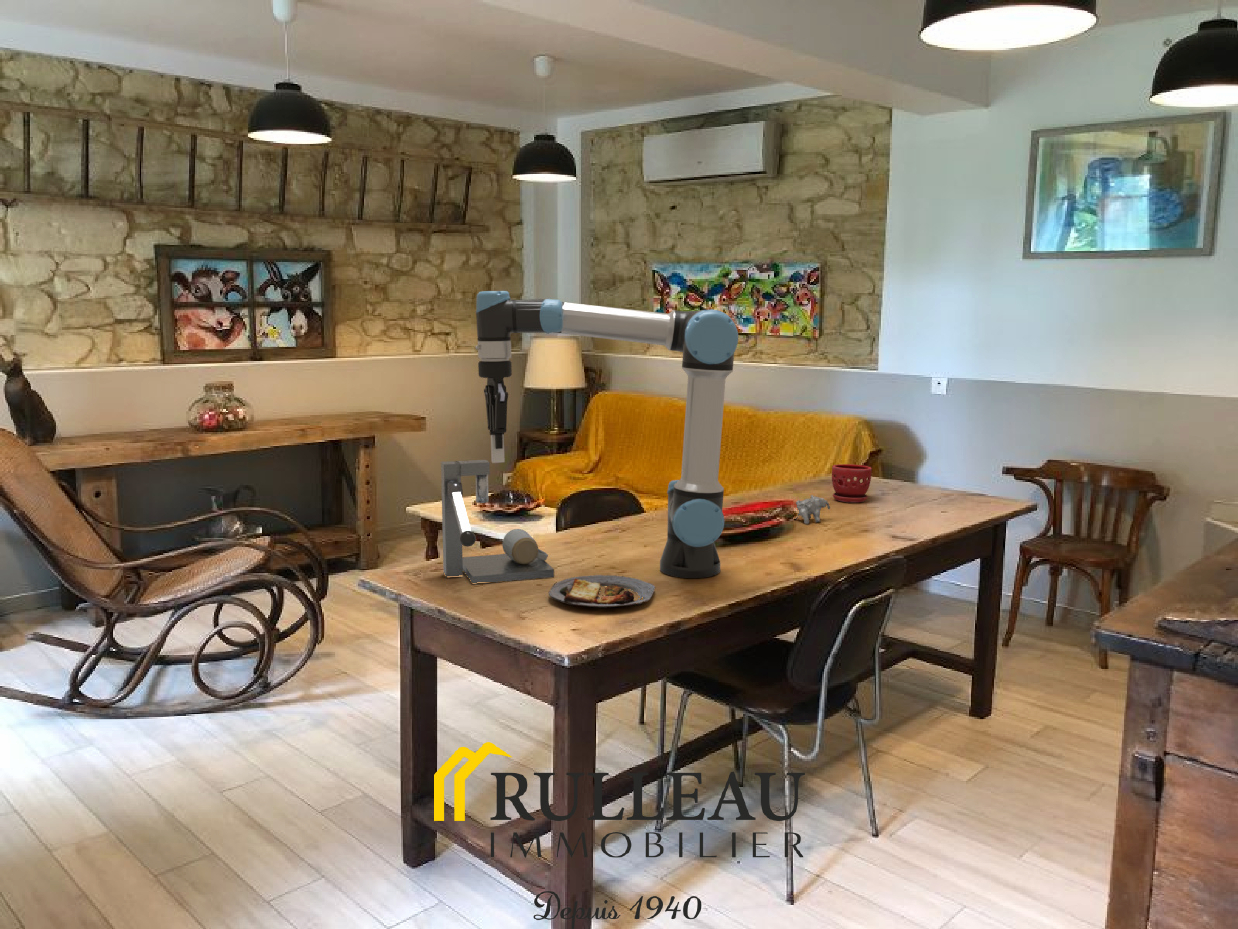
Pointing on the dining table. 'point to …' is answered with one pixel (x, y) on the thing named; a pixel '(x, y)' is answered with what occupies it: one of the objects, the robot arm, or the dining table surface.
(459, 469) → the press
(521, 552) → the ceramic mug
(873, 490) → the dining table surface
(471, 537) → the lever
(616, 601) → the food plate
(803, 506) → the elephant statuette
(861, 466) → the plant pot
